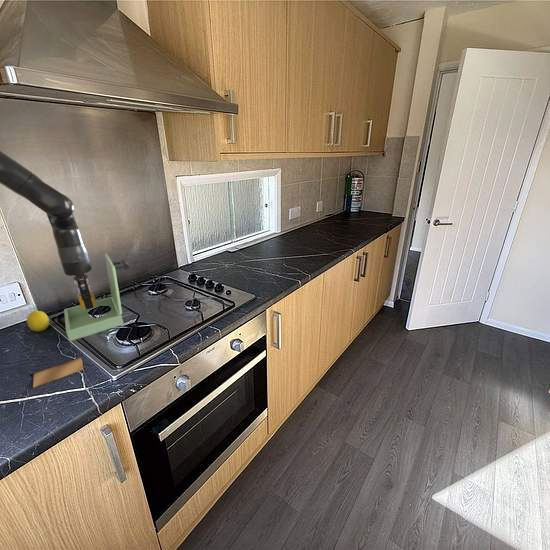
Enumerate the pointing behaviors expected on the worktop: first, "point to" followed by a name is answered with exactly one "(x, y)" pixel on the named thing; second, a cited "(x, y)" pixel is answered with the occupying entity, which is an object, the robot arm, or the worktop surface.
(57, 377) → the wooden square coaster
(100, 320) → the box
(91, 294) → the pod
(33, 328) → the lemon
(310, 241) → the worktop surface
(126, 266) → the lid
